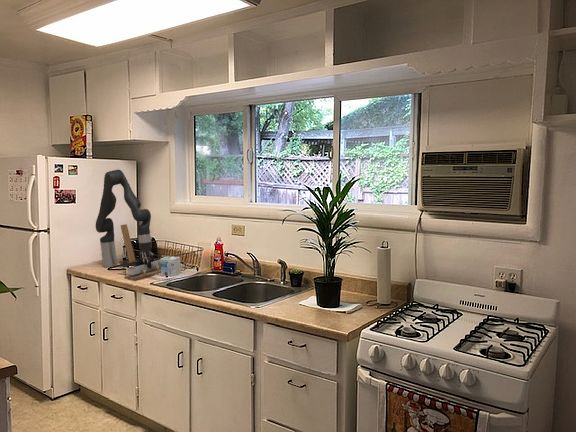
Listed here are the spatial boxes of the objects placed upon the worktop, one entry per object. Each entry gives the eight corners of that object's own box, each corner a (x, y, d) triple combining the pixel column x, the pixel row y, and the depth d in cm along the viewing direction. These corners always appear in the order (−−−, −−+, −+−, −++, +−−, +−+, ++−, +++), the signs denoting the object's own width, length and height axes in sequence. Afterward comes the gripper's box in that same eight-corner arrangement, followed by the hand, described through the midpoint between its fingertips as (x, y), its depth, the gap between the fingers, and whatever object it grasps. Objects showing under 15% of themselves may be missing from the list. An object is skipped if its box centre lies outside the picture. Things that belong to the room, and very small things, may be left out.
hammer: (121, 270, 326) (111, 227, 325) (127, 268, 330) (117, 226, 329) (139, 267, 315) (129, 223, 313) (145, 265, 319) (135, 222, 317)
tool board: (124, 278, 296) (123, 271, 295) (161, 267, 316) (160, 261, 316) (135, 281, 288) (134, 273, 288) (172, 270, 309) (171, 263, 308)
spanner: (128, 273, 294) (127, 268, 294) (162, 264, 313) (161, 259, 312) (132, 275, 291) (132, 269, 290) (166, 265, 310) (166, 260, 309)
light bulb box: (161, 275, 297) (159, 258, 295) (166, 272, 303) (165, 256, 302) (176, 276, 294) (174, 259, 292) (181, 273, 300) (180, 256, 298)
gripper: (133, 241, 301) (136, 267, 303) (146, 243, 292) (149, 270, 294) (143, 239, 306) (146, 265, 309) (156, 240, 297) (159, 267, 300)
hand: (148, 267), depth 302 cm, fingers closed on spanner, 3 cm apart
